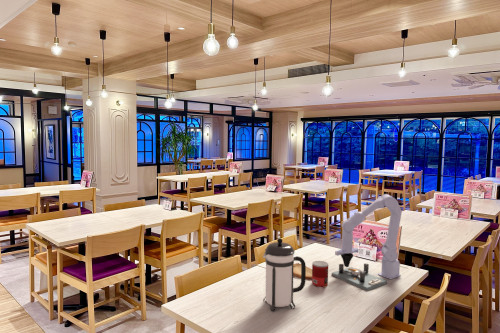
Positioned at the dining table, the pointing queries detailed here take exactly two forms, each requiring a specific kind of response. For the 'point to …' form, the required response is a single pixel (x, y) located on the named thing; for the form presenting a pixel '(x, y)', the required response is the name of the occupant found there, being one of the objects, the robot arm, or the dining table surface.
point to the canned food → (320, 273)
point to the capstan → (355, 272)
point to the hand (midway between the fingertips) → (346, 266)
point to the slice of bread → (298, 271)
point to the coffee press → (281, 274)
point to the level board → (369, 282)
